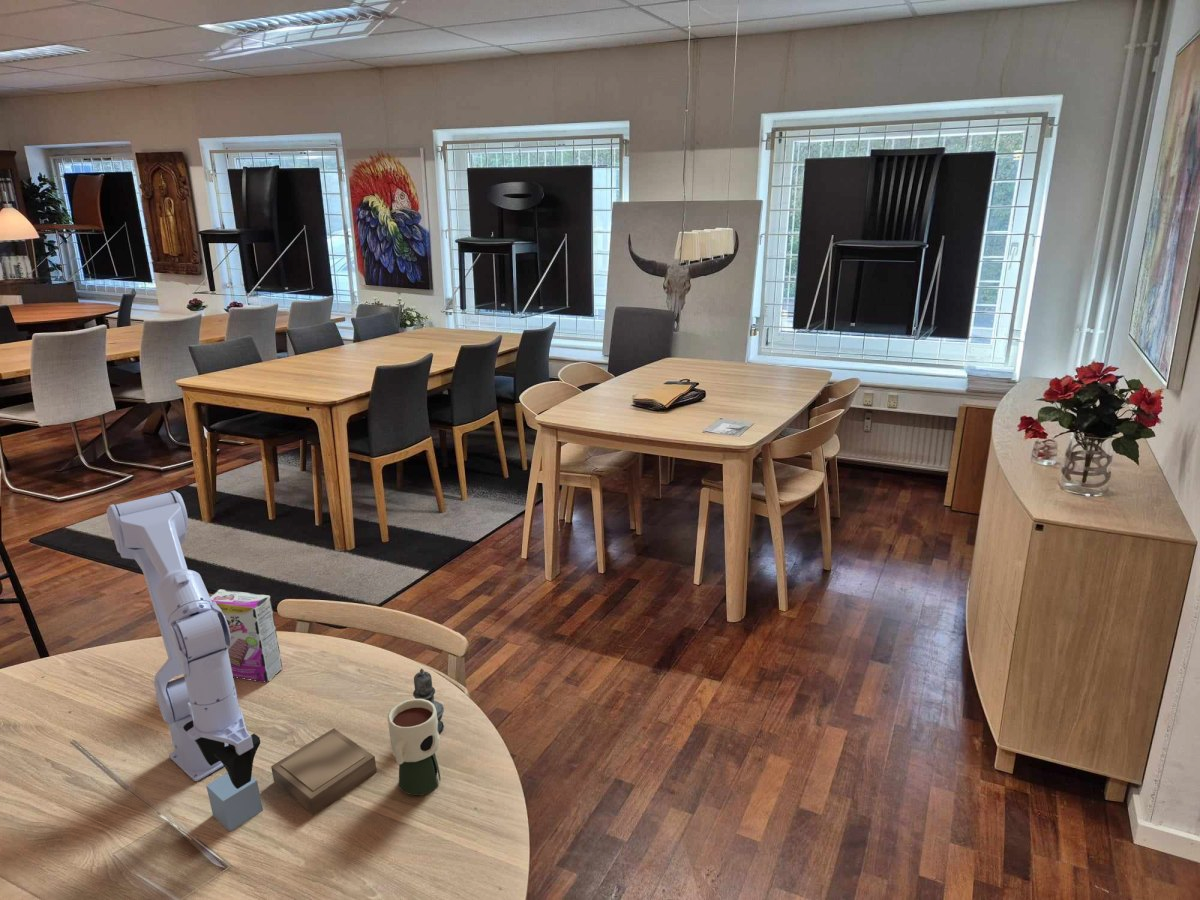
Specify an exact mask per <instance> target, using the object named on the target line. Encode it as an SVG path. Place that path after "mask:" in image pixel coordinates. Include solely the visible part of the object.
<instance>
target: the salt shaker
mask: <svg viewBox="0 0 1200 900" xmlns="http://www.w3.org/2000/svg"><path fill="white" fill-rule="evenodd" d="M413 677H414V678H413V686H414V691H413V692H412V696H413V698H414V699H425V700H428V701H430V702H431V703H433V704H434V705H435V708H436V712H437V719H438V728H437V730H438V733H439V735H441V734H442V732H443V731H444V728H445V725H444V722H443V721H442V719H443V718H442V717H443V714H444V712H445V708H444V705H443V703H441V702H439V701H437V700H435V694H436V689H435V687H433V681H432V680H433V678H432V675H431V673H429V671H425V670H424V669H423V668H420V670H419V672H417V673H416V674H415V675H414V676H413Z"/></svg>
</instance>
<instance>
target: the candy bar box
mask: <svg viewBox="0 0 1200 900" xmlns="http://www.w3.org/2000/svg"><path fill="white" fill-rule="evenodd" d="M209 596H210V599H211V601H212V602H214V601H215V602H216V604H217V606H219V607H220V609H221V610H222V612H223V614H224V616H225V618H226V620H227V623H228V626H229V630H230V636H231V646H228V645H227V644H226V642H225V645H226V646H227V649H228V654H229V659H230V664H231V669H232V674H233V677H238V678H237V679H239V678H245V679H251V680H250V681H252V680H256V681H255V682H259V681H265V682H268V681H269V680H270V679H271V678H272V677H273V676H274V675H275V674H276V673H277V672H278V671H280V670H281V669H282V668H283V664H282V658H281V657H282V656H281V652H280V645H279V640H278V634H277V629H276V622H275V617H274V613H273V612H274V611H273V605H272V599H271V596H270V595H266V594H259V593H252V592H251V593H250V592H243V591H237V590H236V591H235V590H230V589H229V590H228V589H218V590H217V591H215V592H214V593H212V594H210V595H209ZM282 670H283V669H282ZM282 670H281V671H282ZM281 671H280V672H281ZM245 679H244V680H245ZM265 682H264V683H265ZM269 682H270V681H269ZM269 682H268V683H269Z"/></svg>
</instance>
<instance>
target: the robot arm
mask: <svg viewBox="0 0 1200 900" xmlns="http://www.w3.org/2000/svg"><path fill="white" fill-rule="evenodd" d="M106 517H107V521H108V525H109V529H110V532H111V535H112V538H113V540H114V544H115V547H116V551H117V553H119V555H120V557H121V558H122V559H128V560H129V559H130V560H135V562H136V563H137V565H138V566H139V567H140V569H141V572H142V573H143V576H144V580H145V583H146V587H147V590H148V593H149V598H150V601H151V604H152V608H153V610H154V613H155V617H156V621H157V624H158V628H159V631H160V634H161V638H162V640H163V646H164V648H165V651H166V656H167V657H168V658H167V660H166V661H165V662H164V663H163V665H162V666H161V667H160V668H159V670H157V671H156V673H155V674H154V679H153V685H154V689H155V696H156V700H157V704H158V708H159V710H160V713H161V716H162V719H163V721H164V722H165V723H167V724H168V728H169V732H170V736H171V741H172V743H173V749H174V751H172V752H171V753H169V755H168V757H169V759H170V760H171V761H173V763H175V764H176V765H177V766H178V767H179V768H180V769H181V770H182V771H183V772H185V773H186V774H187V775H188V777H190V779H191V780H193V781H194V782H198V781H200V780H202V779H204V778H205V777H207V776H209V775H210V774H212V773H214V772H216V771H218V770H220V769H221V768H223V767H224V769H226V772H227V773H228V775H229V777H230V780H231V782H232V784H233V785H234V787H235V788H237V789H239V788H240V787H242V786H244V785H245V784H247V783H248V782H250V781H251V776H252V777H253V774H252V773H253V765H254V764H253V763H254V759H255V756H256V753H257V751H258V749H259V746H260V745H261V739H260V736H258V735H257V734H256V733H252V734H250V733H249V732H248V730H247V727H246V723H245V719H244V715H243V712H242V711H243V710H242V709H241V708H240V705H239V700H238V694H237V690H236V685H235V680H234V679H235V678H233V674H232V669H231V664H230V659H229V654H228V649H227V646H226V645H225V642H226V644H227V645H228V646H231V636H230V630H229V626H228V623H227V620H226V618H225V616H224V614H223V612H222V610H221V609H220V607H219V606H217V604H216V602H215V601H214V602H212V601H211V599H210V596H211V595H210V594H209V592H208V590H207V588H206V585H205V583H204V580H203V579H202V576H201V574H200V573H199V572H197V571H195V570H192V569H188V565H187V563H186V559H185V556H184V553H183V549H182V546H181V545H182V544H184V543H185V542H186V537H187V534H188V525H189V517H188V512H187V508H186V505H185V502H184V499H183V497H182V494H180V493H179V492H177V491H176V490H170V491H169V492H166V493H161V494H155V495H153V496H152V495H151V496H147V497H144V498H139V499H135V500H129V501H126V502H122V503H117V504H114V503H113V504H110V505H108V507H107V509H106ZM182 675H183V676H182ZM178 676H181V677H178ZM176 677H178V678H176ZM174 678H176V679H174ZM172 679H173V680H172Z"/></svg>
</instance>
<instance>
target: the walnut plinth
mask: <svg viewBox="0 0 1200 900" xmlns="http://www.w3.org/2000/svg"><path fill="white" fill-rule="evenodd" d="M375 757H376V756H375V755H374V754H372V753H371V752H369V751H368V750H366V749H365V748H364V747H362V746H361V745H359V744H358V743H356V742H355V741H354V740H352V739H351V738H350V737H347V736H346V735H345V734H343V733H342V732H340V731H338V730H337V729H336V728H335V727H333V728H331V729H330V730H328V731H327V732H325V733H324V734H322V735H320V736H319V737H317V738H315V739H314V740H312V741H310V742H309V743H307V744H306V745H303V746H302V747H300V748H299V749H297V750H295V751H294V752H292V753H290V754H289V755H287V756H285V757H284V758H282V759H281V760H279V761H277V762H276V763H274V764H272V765H270V767H271V768H270V769H271V774H272V778H273V782H274V784H275V785H277V786H278V787H279V788H280V789H281V790H283V791H284V792H285V793H286V794H288V795H289V796H290V797H291V798H292V799H294V800H295V801H296V802H297V803H299V805H301V806H302V807H304V809H306V810H307V811H308V812H309V813H311V815H313V816H315V815H317V814H318V813H319V812H321V811H322V810H324V809H325V808H327V807H328V806H329V805H331V804H333V802H335V801H337V800H338V799H340V798H341V797H343V796H345V795H346V794H347V793H348V792H349V791H351V790H353V789H355V788H356V787H357V786H359V785H360V784H361V783H363V782H364V781H366V780H367V779H369V778H370V777H372V776H373V775H375V774H376V773H377V772H378V771H377V762H376V758H375Z"/></svg>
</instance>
